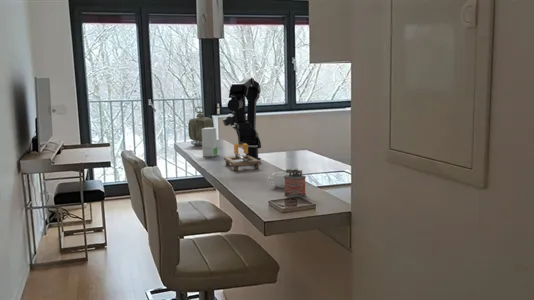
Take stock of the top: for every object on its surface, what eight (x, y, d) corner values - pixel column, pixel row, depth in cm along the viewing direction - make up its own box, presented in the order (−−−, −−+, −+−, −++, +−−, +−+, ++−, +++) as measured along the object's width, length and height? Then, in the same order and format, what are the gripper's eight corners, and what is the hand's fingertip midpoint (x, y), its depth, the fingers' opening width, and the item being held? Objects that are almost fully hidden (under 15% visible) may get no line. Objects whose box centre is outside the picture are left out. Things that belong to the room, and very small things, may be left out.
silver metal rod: (235, 156, 254) (235, 154, 253) (239, 156, 254) (239, 153, 254) (243, 162, 239) (243, 159, 238) (248, 161, 239) (247, 158, 239)
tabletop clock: (214, 145, 326) (212, 106, 322) (207, 147, 318) (205, 107, 314) (195, 144, 332) (193, 106, 328) (187, 146, 323) (185, 107, 320)
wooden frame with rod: (224, 164, 254) (223, 157, 254) (248, 162, 258) (248, 155, 258) (234, 171, 236) (233, 163, 235) (260, 169, 240) (260, 161, 239)
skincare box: (213, 156, 280) (212, 128, 277) (202, 156, 281) (200, 128, 279) (217, 154, 288) (216, 127, 285) (206, 154, 289) (205, 127, 287)
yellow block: (234, 153, 247) (233, 138, 246) (246, 152, 249) (245, 137, 247) (236, 154, 243) (235, 139, 242) (248, 153, 245) (247, 138, 244)
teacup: (288, 184, 207) (288, 171, 206) (294, 188, 199) (294, 174, 198) (265, 186, 204) (264, 173, 203) (270, 190, 197) (270, 176, 196)
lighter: (306, 195, 187) (306, 168, 186) (304, 197, 184) (304, 170, 182) (286, 194, 190) (285, 167, 188) (283, 196, 187) (282, 169, 185)
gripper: (218, 109, 249) (220, 140, 251) (228, 111, 231) (229, 145, 234) (240, 108, 252) (241, 139, 255) (251, 110, 235) (252, 143, 237)
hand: (240, 141), depth 245 cm, fingers closed on yellow block, 2 cm apart
